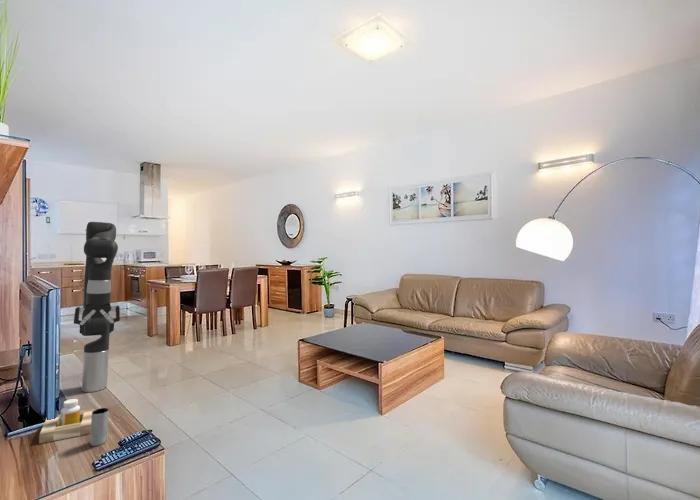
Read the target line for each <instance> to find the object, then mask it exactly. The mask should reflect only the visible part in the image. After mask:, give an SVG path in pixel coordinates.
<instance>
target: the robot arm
mask: <svg viewBox="0 0 700 500" xmlns="http://www.w3.org/2000/svg"><path fill="white" fill-rule="evenodd" d="M116 237H117V227H116V225H115V224H114V223H112V222H111V223H110V222H103V221H88V223H87V224H86V229H85V242H84V245H83V253H84V255H85V267H84V268H85V269H84V278H83V279H84V280H83V283H84V284H83V305H82V307H80V306H77V307H75V310H74V317H73V324H75V325H78V326H79V334H80V335H81V336H83V337H89V336H90V337H91V336H100V337H99V338H97V339H96V340H93V341H91V342H88V343H86V344H84V346H83V360H82V376H81V380H82V381H81V391H82V392H85V393H93V392H99V391H102V390H105V389H106V388H107V386H108V370H109V356H110V355H109V353H110V335H111V333H112V332H114V330H115V324H116V322H119V321H120V319H121V316H120V314H121V313H120V311H121V310H120V308H121V306H120V305H119V304H118V305H114V306H111V297H112V295H111V294H112V281H111V279H112V267H113V263H114V260H115V258H116V255H117V253H118V250H119V245H118V243H117V242H116V241H115V240H116ZM103 259H105V261H104V260H103ZM112 310H113V312H114V313H115V318H114V317H112V316H111V314H110V312H111V311H112ZM81 313H82V315H81V320H80V314H81ZM104 386H105V387H106V388H105V387H104Z"/></svg>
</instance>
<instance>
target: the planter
mask: <svg viewBox="0 0 700 500" xmlns="http://www.w3.org/2000/svg"><path fill="white" fill-rule="evenodd" d="M109 411H110V410H109V408H106V407H101V408H96V410H94V411H93V412H92V419H91V433H90V442H89V445H91V446H92V447H98V446H102V445H104V444H105V443H107V442H108V434H109V433H108V431H109V429H108V428H109Z"/></svg>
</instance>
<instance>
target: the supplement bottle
mask: <svg viewBox="0 0 700 500" xmlns="http://www.w3.org/2000/svg"><path fill="white" fill-rule="evenodd" d="M80 411H81V406H80V405H79V399H78V398H70V399H67V400H64V401H63V407H62V408H61V409H60V426H64V425H69V424H75V423H79V421H80Z"/></svg>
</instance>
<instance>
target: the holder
mask: <svg viewBox="0 0 700 500" xmlns="http://www.w3.org/2000/svg"><path fill="white" fill-rule="evenodd" d="M96 409H97V408H90V409H85V410H80V421H79V423H75V424H69V425H64V426H60V414H61V413H60V414H57V415H58V417H56V418H55V419H51V420H47V418H45V421H44V423H43V426H42V427H41V430H40V432H39V437H38V438H39V440H38V443H39V444H44V443H49V442H54V441H59V440H65V439H68V438H74V437H80V436H84V435H89V434H90V435H91V419H92V412H93V411H94V410H96Z"/></svg>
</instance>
